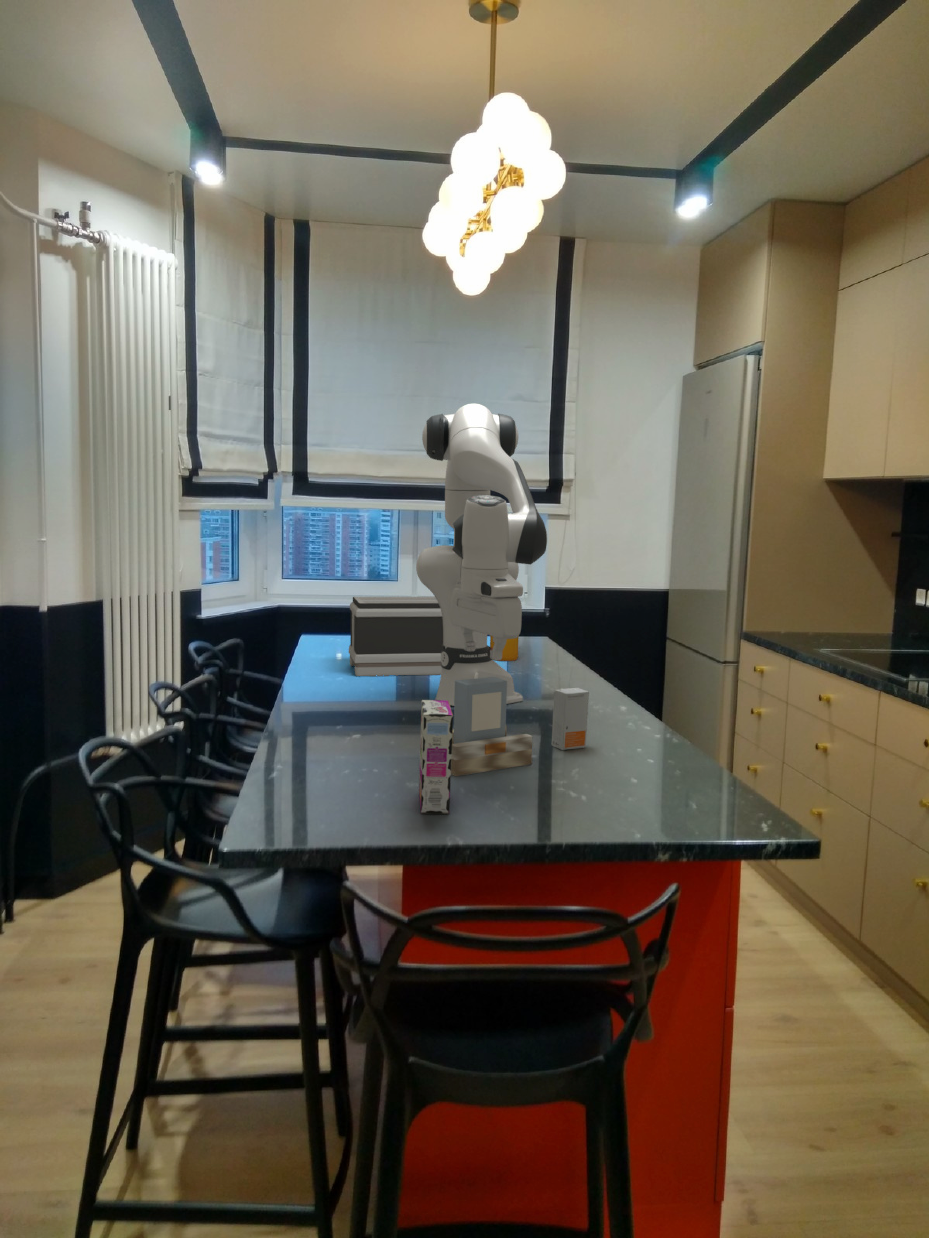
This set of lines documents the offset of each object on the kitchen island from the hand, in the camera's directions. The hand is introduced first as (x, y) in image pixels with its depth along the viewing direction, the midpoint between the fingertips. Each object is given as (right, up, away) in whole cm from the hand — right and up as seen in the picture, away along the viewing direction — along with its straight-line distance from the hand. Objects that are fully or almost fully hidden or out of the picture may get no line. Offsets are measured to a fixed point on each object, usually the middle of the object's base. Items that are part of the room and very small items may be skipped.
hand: (482, 655), depth 164 cm
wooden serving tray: (-1, -21, +3) cm, 21 cm away
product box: (-1, -18, +2) cm, 18 cm away
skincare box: (+18, -20, +15) cm, 31 cm away
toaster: (-20, -9, +92) cm, 95 cm away
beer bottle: (+9, -6, +114) cm, 115 cm away
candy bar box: (-8, -24, -20) cm, 32 cm away
